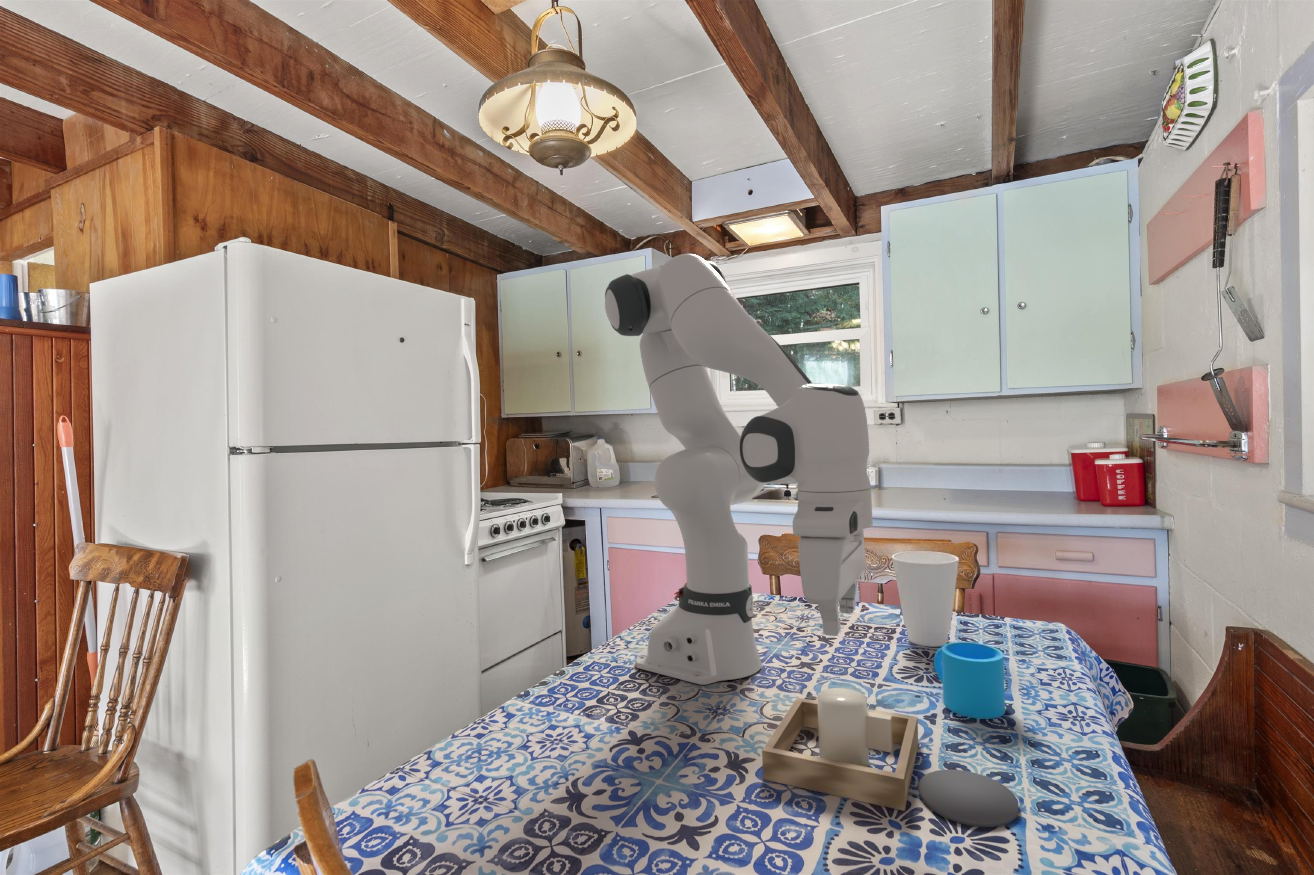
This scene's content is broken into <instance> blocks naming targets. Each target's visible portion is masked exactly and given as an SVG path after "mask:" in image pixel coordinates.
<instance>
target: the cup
mask: <svg viewBox="0 0 1314 875" xmlns="http://www.w3.org/2000/svg"><path fill="white" fill-rule="evenodd" d="M891 559H892V562H893V563H892V564H893V569H894V575H895V580H896V585H897V590H898V596H899V601H900V608H901V612H902V620H903V624H904V627H905V628H906V631H907V632H906V633H907V639H908V641H909V642H911V643H912V644H916V645H917V646H918V645H919V646H923V647H943V646H944V645H945V644H948V638H949V631H950V630H951V628H952V627H951V626H952V618H953V610H954V603H955V602H954V601H955V593H956V584H957V576H958V575H957V574H958V568H959V562H960V559H959V557H958V556H956V555H954V554H951V553H947V552H946V553H945V552H939V551H932V550H931V551H929V550H928V551H927V550H909V551H901V552H897V553H893V555H892V556H891Z"/></svg>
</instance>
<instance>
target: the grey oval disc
mask: <svg viewBox="0 0 1314 875" xmlns="http://www.w3.org/2000/svg"><path fill="white" fill-rule="evenodd" d="M918 794H919V797H920V800H921V802H923V804H924V805H925V806H927V808H929V809H930V810H931V812H934V813H935V814H937V815H939V816H941V817H943V818H945V819H947V820H949V821H952V822H955V823H958V824H961V825H966V826H970V827H978V828H995V827H1001V826H1005V825H1008V824H1010V823H1012V822H1014V820H1016V819H1017V817H1018V815H1019V802H1018V799H1017V796H1016V795H1015V794H1014V793H1013V791H1012V790H1011V789H1009V788H1008V787H1007V786H1006V785H1005V784H1003V783H1001V782H999V781H997V780H996V779H993V778H990V777H989V776H986V775H983V774H980V773H977V772H972V771H970V770H969V771H968V770H963V769H962V770H961V769H939V770H933V771H931V772H930V771H929V773H926V774H925V775H923V776H922V777H921V778H920V779H919V782H918Z"/></svg>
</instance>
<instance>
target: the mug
mask: <svg viewBox="0 0 1314 875" xmlns="http://www.w3.org/2000/svg"><path fill="white" fill-rule="evenodd" d="M1004 657H1005V656H1004V653H1003V652H1002V650H1000V649H998V648H996V647H995V646H994V647H993V646H991V645H988V644H984V643H983V644H982V643H979V642H973V641H971V642H970V641H956V642H955V641H954V642H949V643H948V642H947V644H945V645H942V646H941V647H940V648H939V649H937V651H936V652H935V654H934V657H933V664H934V670H935V672H936V676H937V677H938V679H939V681H940V682H941V684H942V696H943V697H942V699H943V700H942V702H943V705H944V706H945V708H947V709H948V710H949V711H950V712H953V713H955V714H957V715H959V716H960V715H961V716H962V717H963V716H964V717H967V718H971V719H972V718H973V719H976V720H977V719H981V720H982V719H983V720H989V719H991V720H992V719H998V718H1001V717H1002V716H1003V715H1005V714H1006V700H1005V698H1006V697H1005V696H1006V695H1005V691H1006V690H1005V661H1004Z"/></svg>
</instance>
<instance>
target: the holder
mask: <svg viewBox="0 0 1314 875" xmlns="http://www.w3.org/2000/svg"><path fill="white" fill-rule="evenodd" d="M867 712H873V713H879V714H885V715H891V716H892V740H893V744H894V743H895V744H900V745H901V748H900V751H899V756H898V759H897V763H896V764H897V765H896V767H895V771H894V772H893V771H889V770H885V769H877V768H873V767H864V766H859V765H854V764H849V763H844V762H839V761H834V760H829V759H824V758H819V756H814V755H809V754H804V753H798V752H794V751H790V749H791V748H792V746H793V744H794V743H795V741H796V739H797V738H798V736H799V734H800V732H801V730H802V729H803V727H806V728H811V729H816V730H817V729H818V702H817V700H814V699H808V698H801V697H796V698H795V700H794V702H793V703H792V705H791V706H790V707H789V709H788V710H787V712H786V713H785V715H784V716H783V718H782V720H781V721H779V724H778V726H777V727H776V729H775V730H774V732H773V733H772V735H771V736H770V738H769V739H768V741H767V742H766V744H765V746H764V747H763V748H762V750H761V754H762V755H761V756H762V757H761V758H762V759H761V760H762V762H761V763H762V780H765V781H770V782H775V783H779V784H784V785H788V786H792V787H796V788H800V789H801V788H802V789H806V790H810V791H814V792H819V793H823V794H827V795H832V796H836V797H840V798H841V797H842V798H846V799H850V800H854V801H859V802H864V803H869V804H873V805H876V806H879V807H886V808H890V809H894V810H899V811H903V812H905V811H906V807H907V801H908V796H909V791H910V788H911V781H912V776H913V772H914V768H915V763H916V762H915V761H916V757H917V751H918V747H919V725H918V724H919V723H918V722H919V721H918V716H914V715H910V714H909V715H908V714H907V715H906V714H901V713H895V712H891V711H890V712H889V711H883V710H875V709H870V708H867Z"/></svg>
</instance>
